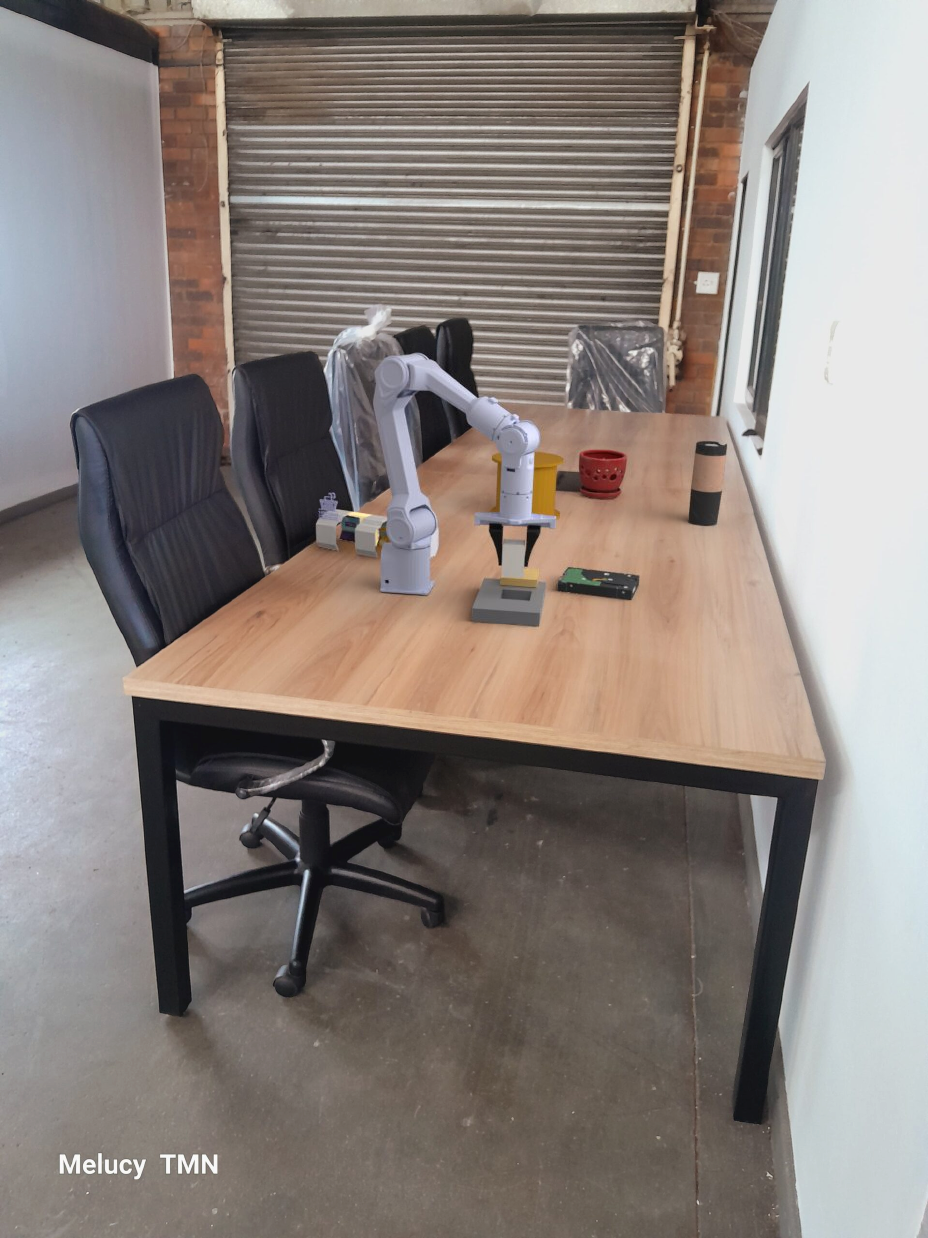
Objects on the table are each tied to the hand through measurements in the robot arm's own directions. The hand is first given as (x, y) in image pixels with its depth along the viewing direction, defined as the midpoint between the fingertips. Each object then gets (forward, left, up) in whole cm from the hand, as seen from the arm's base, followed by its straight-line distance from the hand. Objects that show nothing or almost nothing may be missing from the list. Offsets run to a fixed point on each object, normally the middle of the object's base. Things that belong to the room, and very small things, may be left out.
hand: (513, 564), depth 174 cm
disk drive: (+16, +16, -9) cm, 24 cm away
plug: (0, 0, -2) cm, 2 cm away
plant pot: (+16, +100, -9) cm, 101 cm away
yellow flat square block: (+1, +9, -6) cm, 11 cm away
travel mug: (+42, +76, -9) cm, 87 cm away
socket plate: (0, +1, -8) cm, 9 cm away
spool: (-3, +73, -9) cm, 73 cm away
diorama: (-33, +31, -9) cm, 46 cm away
